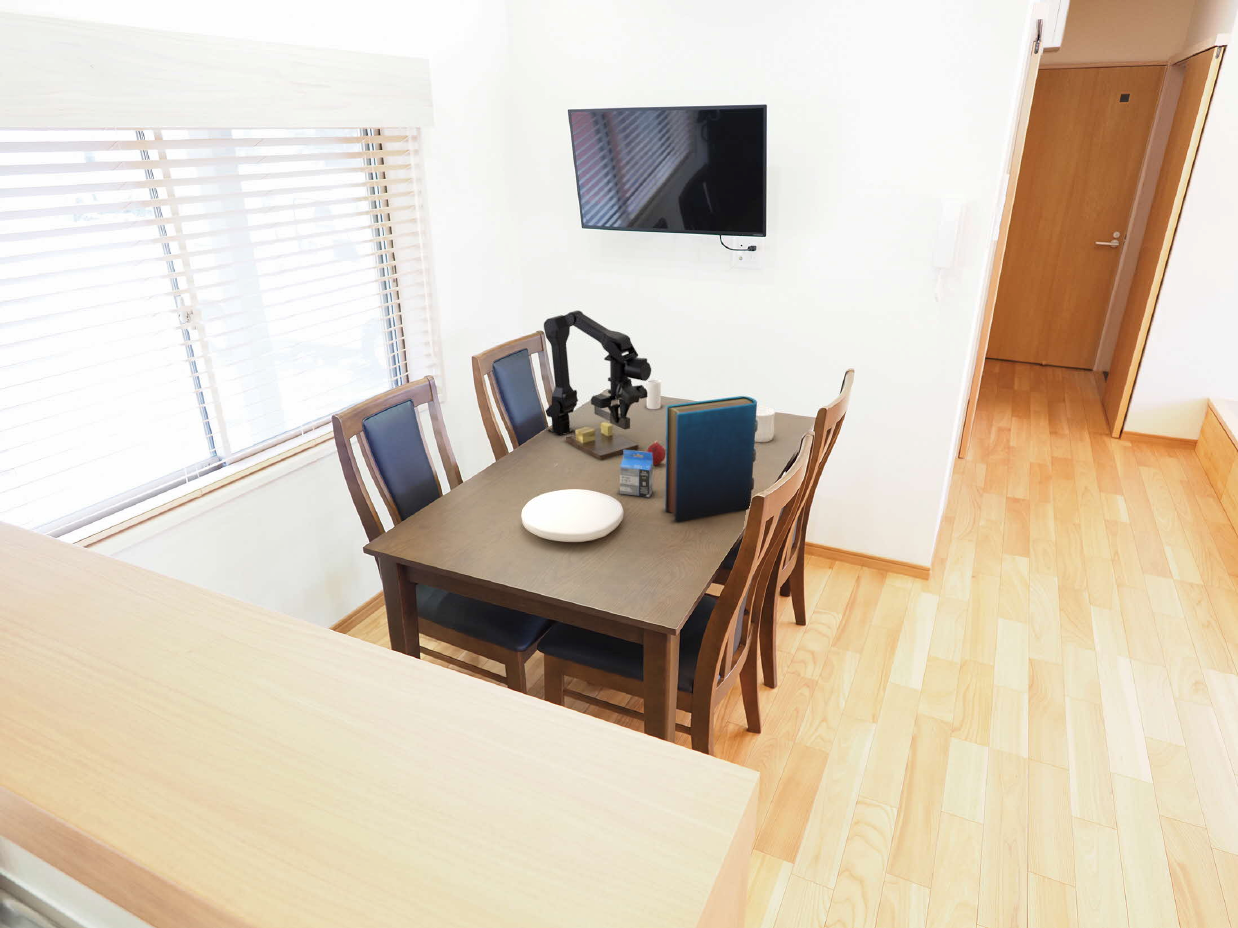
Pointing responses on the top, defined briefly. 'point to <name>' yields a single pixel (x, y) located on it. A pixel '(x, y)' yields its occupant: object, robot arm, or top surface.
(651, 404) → the cup
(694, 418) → the book
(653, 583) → the top surface
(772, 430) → the cup
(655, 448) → the onion
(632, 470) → the label tape box
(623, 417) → the butter knife
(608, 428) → the butter slice
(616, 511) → the white round disc
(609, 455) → the cutting board
